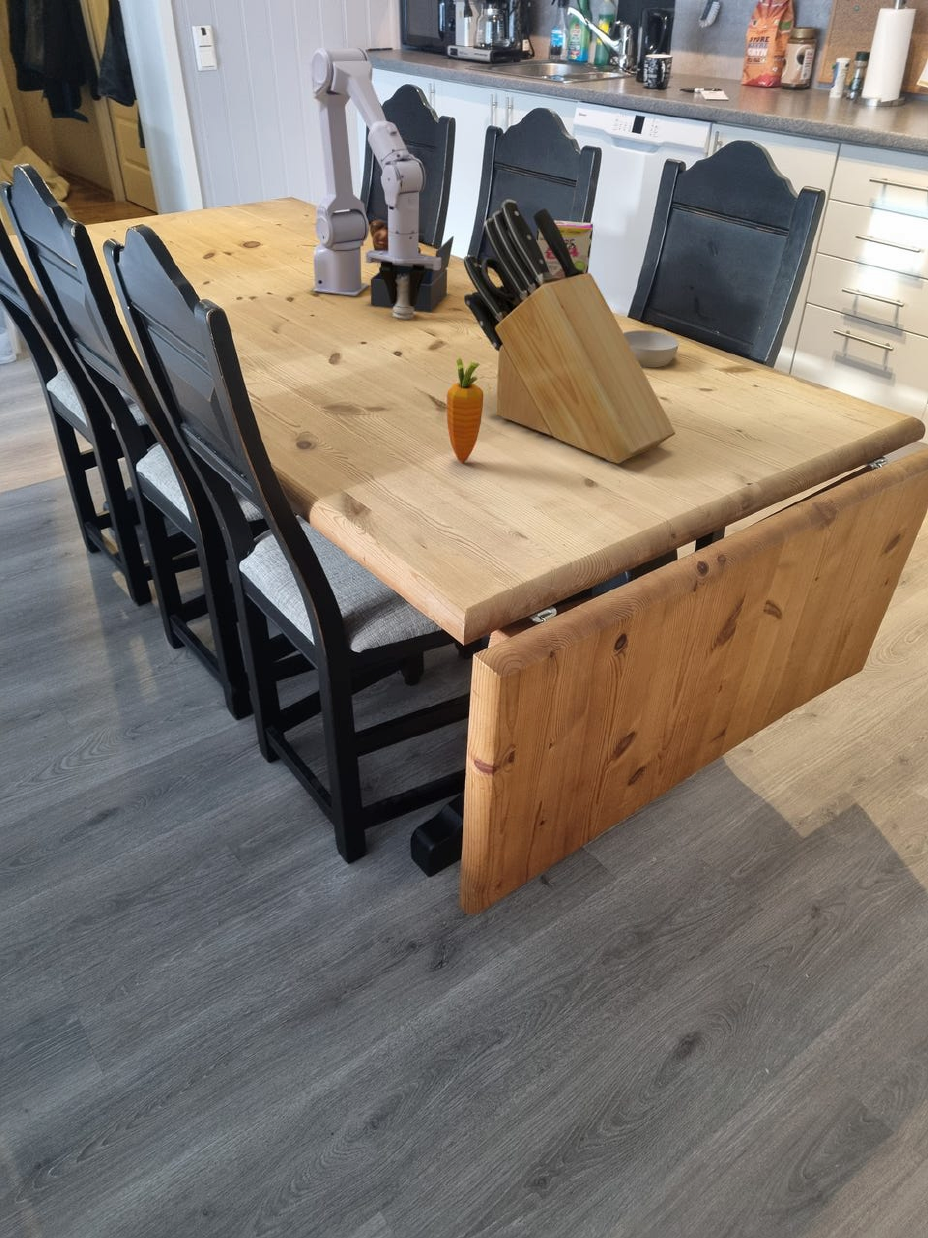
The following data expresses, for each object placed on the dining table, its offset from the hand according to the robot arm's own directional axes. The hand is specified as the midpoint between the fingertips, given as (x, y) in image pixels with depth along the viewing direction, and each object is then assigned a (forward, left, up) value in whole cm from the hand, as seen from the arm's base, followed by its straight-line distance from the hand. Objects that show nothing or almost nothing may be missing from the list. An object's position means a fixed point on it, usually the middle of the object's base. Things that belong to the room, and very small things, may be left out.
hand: (403, 303), depth 183 cm
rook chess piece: (0, 0, -3) cm, 3 cm away
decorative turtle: (-14, +40, +1) cm, 42 cm away
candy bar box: (+28, +18, -3) cm, 33 cm away
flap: (+5, +11, +6) cm, 14 cm away
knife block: (+38, -42, -3) cm, 57 cm away
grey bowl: (+45, -7, -3) cm, 46 cm away
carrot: (+27, -60, -3) cm, 66 cm away
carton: (-2, +11, -3) cm, 11 cm away
